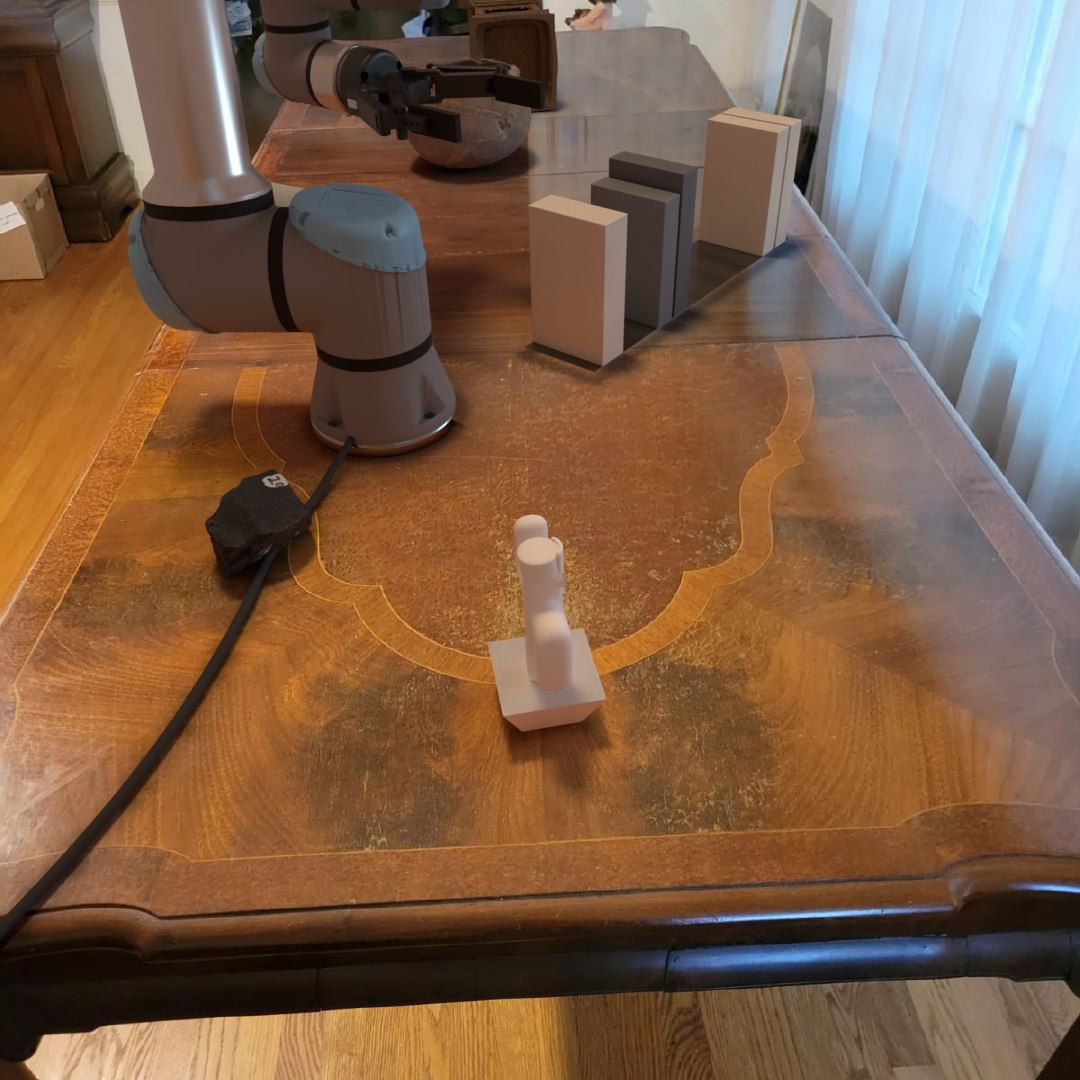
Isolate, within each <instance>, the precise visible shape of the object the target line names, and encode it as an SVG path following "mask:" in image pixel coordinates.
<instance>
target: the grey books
mask: <svg viewBox="0 0 1080 1080" xmlns="http://www.w3.org/2000/svg"><path fill="white" fill-rule="evenodd" d="M698 172H699V167H698V166H696V165H690V164H686V163H681V162H677V161H674V160H673V161H672V160H667V159H663V158H658V157H654V156H649V155H644V154H640V153H636V152H631V151H627V150H622V151H620V152H618V153H616V154H614V155H612V156H610V157H608V176H605V177H603V178H601V179H599V180H597V181H595V182H592V183H591V184H590V204H591V205H595V206H599V207H603V208H607V209H611V210H615V211H619V212H623V213H626V214H628V215H627V245H626V275H625V305H624V318H627V319H631V320H634V321H637V322H640V323H643V324H646V325H649V326H652V327H656V328H659V327H660V328H661V326H662V325H663V326H665V325H666V324H667V323H669V322H670V321H672V320H673V319H672V317H675V316H676V317H678V316H679V315H681V314H682V313H684V312H685V311H687V310H688V309H687V304H688V291H689V278H690V265H691V252H692V244H693V236H694V226H695V225H694V224H695V212H696V201H697V200H696V198H697V188H698V187H697V186H698V185H697V184H698V174H699V173H698ZM684 310H685V311H684ZM681 312H682V313H681ZM680 313H681V314H680ZM678 314H679V315H678ZM677 315H678V316H677ZM676 317H675V318H676ZM671 319H672V320H671ZM669 320H670V321H669ZM668 321H669V322H668ZM665 323H666V324H665ZM663 326H662V327H663ZM660 328H659V329H660Z"/></svg>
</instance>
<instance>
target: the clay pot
mask: <svg viewBox="0 0 1080 1080" xmlns="http://www.w3.org/2000/svg"><path fill="white" fill-rule="evenodd" d="M437 64H441V65H456V66H490V67H497V64H501V65H502V66H505V67H507V68H508V75H511V76H516V77H520V76H519V74H520V70H519V69H518V68H517V67H516V66H515V65H512V66H511V65H509V64H506V63H503V62H500V61H495V60H491V59H481V60H480V61H478V62H477V61H475V60H474V59H470V58H463V59H457V60H449V61H443V62H438V63H437ZM422 69H426V66H425V67H422ZM430 89H431V88H430ZM435 95H436V94H435V90H433V89H431V96H435ZM420 105H424V106H428V107H433V108H437V109H442V110H446V111H451V112H455V113H460V122H461V136H462V142H459V143H453V142H449V141H445V140H441V139H436V138H432V137H428V136H424V135H420V134H416V133H412V132H410V130H408V139H407V140H408V141H409V144H410V145H411V146H412V148H413V149H414V150H415V152H416V153H417V154H418V155H419V156H420V157H421V158H422V159H424V160H425V161H427V162H429V163H431V164H432V165H435V166H440V167H443V168H448V169H473V168H481V167H486V166H489V165H492V164H495V163H497V162H499V161H501V160H503V159H504V158H506V157H508V156H510V155H511V154H513V153H514V152H515V151H516V150H517V149H518V148H519V147H521V145H522V144H523V142H524V141H525V140H526V137H527V136H528V134H529V132H530V128H531V121H532V112H531V108H529V107H524V106H519V105H515V104H510V103H505V102H500V101H495V97H480V98H451V99H443V101H442V102H441V103H439V104H420ZM405 110H406V111H408V107H405Z"/></svg>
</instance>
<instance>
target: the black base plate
mask: <svg viewBox="0 0 1080 1080" xmlns="http://www.w3.org/2000/svg"><path fill="white" fill-rule="evenodd" d="M788 240H790V238H789V237H786V239H785V242H787V241H788ZM785 242H783V243H782V244H784V243H785ZM782 244H780V245H779V246H781V245H782ZM779 246H777V247H776V248H773V250H771V251H770V252H768V253H767V254H766V255H768V254H769V253H771V252H773V251H774V250H775V249H777V248H778V247H779ZM766 255H764V256H758V255H755V254H751V253H747V252H743V251H739V250H735V249H732V248H728V247H724V246H720V245H716V244H712V243H708V242H705V241H701V240H696V241H694V242H692V252H691V265H690V278H689V291H688V304H687V309H686V310H688V309H690V308H692V306H694V305H695V304H697V303H699V302H700V301H701V300H702V299H704V298H705V297H707V296H708V295H710V294H711V293H713V292H714V291H716V290H718V289H719V288H720V287H721V286H723V285H724V284H726V283H727V282H729V281H730V280H731V279H733V278H734V277H736V276H737V275H739V274H740V273H742V272H743V271H745V270H746V269H748V268H750V266H752V265H753V264H755V263H756V262H758V261H759V260H761V259H762V258H764V257H765V256H766ZM686 310H684V311H683V312H685V311H686ZM683 312H681V313H680V314H678V315H677V316H675V317H672V319H671V320H669V321H668V322H667V323H669V322H670V321H672V320H673V319H675V318H677V317H678V316H679V315H681V314H682V313H683ZM667 323H665V324H664V325H667ZM664 325H662V326H661V327H663V326H664ZM661 327H659V328H656V327H652V326H649V325H646V324H643V323H640V322H637V321H634V320H631V319H627V318H624V335H623V353H621V354H620V355H618V356H617V357H616V358H618V357H619V356H621V355H622V354H625V352H627V351H628V350H630V349H631V348H632V347H634V346H635V345H637V344H638V343H640V342H642V341H643V340H644V339H646V338H647V337H649V336H650V335H651V334H653V333H655V332H656V331H657V330H659V329H660V328H661ZM524 348H525V349H529V350H532V351H535V352H536V353H539V354H543V355H545V356H548V357H551V358H554V359H556V360H559V361H562V362H565V363H567V364H570V365H573V366H575V367H579V368H582V369H584V370H587V371H590V372H593V373H596V372H597V371H600V370H601V369H602V368H603V367H605V366H606V365H608V364H609V363H611V362H612V361H614V360H616V358H614V359H613V360H611V361H610V362H608V363H607V364H605V365H604V366H600V365H597V364H595V363H592V362H589V361H586V360H583V359H580V358H578V357H575V356H572V355H569V354H566V353H563V352H561V351H558V350H555V349H552V348H549V347H546V346H544V345H541V344H538V343H535V342H533V341H532V342H530V343H529V344H527V345H525V346H524Z"/></svg>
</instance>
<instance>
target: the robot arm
mask: <svg viewBox="0 0 1080 1080" xmlns="http://www.w3.org/2000/svg"><path fill="white" fill-rule="evenodd" d="M450 2H451V0H259V3H260V8H261V9H260V10H261V13H262V18H263V25H264V29H263V30H264V32H263V33H261V34H260V36H259V37H258V38H257V40H256V41H255V43H254V47H253V48H254V50H253V56H252V57H251V61H252V69H253V73H254V75H255V78H256V80H257V81H258V83H259V84H260V85H261V87H262V88H263V89H264V90H265V91H266V92H268V93H270V94H271V95H274V96H276V97H280V98H283V99H284V100H286V101H289V102H291V103H297V104H305V105H310V106H314V107H319V108H324V109H327V110H332V111H336V112H340V113H343V114H344V116H345V117H346V118H351V117H352V116H353V117H357V118H360V120H361V121H363V122H364V123H365V124H366V125H368V126H369V127H370V128H371V129H372V130H373V131H374V132H375V133H377V134H378V135H379V136H381V137H388V136H390V135H391V134H392V131H391V130H395V135H396V140H398V141H407V140H409V139H408V130H410V132H412V133H416V134H420V135H424V136H428V137H432V138H436V139H441V140H445V141H449V142H453V143H459V142H462V136H461V122H460V113H455V112H451V111H446V110H442V109H437V108H433V107H428V106H424V105H420V104H439V103H441V102H442V101H443V99H451V98H480V97H495V101H500V102H505V103H510V104H515V105H519V106H524V107H529V108H534V109H538V110H542V109H544V108H545V89H544V82H542V81H537V80H532V79H527V78H521V77H516V76H511V75H508V68H507V67H505V66H502V65H501V64H497V67H490V66H456V65H441V64H438V63H434V62H429V63H426V64H425V67H426V69H423V68H418V67H416V66H404V65H403V64H402V62H401V61H400V59H399V57H398V56H397V55H396V54H395V53H394V52H392V51H391V50H389V49H386V48H380V47H375V46H371V45H364V44H362V43H357V42H351V41H345V40H340V39H334V38H332V33H331V26H330V25H331V21H330V20H331V19H330V12H342V11H344V12H345V11H346V12H348V11H349V12H350V11H415V12H421V11H422V10H423V11H424V10H436V9H444V8H445V7H447V6H448V5H449V4H450ZM117 4H118V9H119V13H120V19H121V22H122V27H123V32H124V37H125V42H126V46H127V51H128V55H129V60H130V64H131V70H132V74H133V75H132V76H133V78H134V79H133V80H134V82H135V89H136V93H137V97H138V98H137V99H138V102H139V106H140V112H141V116H142V121H143V126H144V130H145V134H146V140H147V144H148V149H149V154H150V158H151V164H152V169H153V174H152V177H150V180H148V182H147V184H146V185H145V186H144V188H143V189H142V191H141V192H140V195H141V198H142V199H141V200H142V204H143V207H141V208H139V209H138V210H136V212H134V213H133V215H132V217H131V219H130V221H129V223H128V230H127V238H128V240H129V243H130V244H129V245H127V255H128V260H129V266H130V270H131V273H132V277H133V279H134V282H135V285H136V287H137V290H138V292H139V294H140V296H141V298H142V300H143V301H144V303H145V304H146V306H147V308H148V309H149V310H150V311H151V313H152V314H153V315H154V316H155V317H156V318H157V319H159V321H161V322H163V324H165V325H166V326H167V327H169V328H171V329H173V330H178V331H184V332H198V333H199V332H200V333H201V332H202V333H205V334H208V335H220V334H222V333H307V334H308V333H310V334H312V336H313V337H312V338H313V340H314V345H315V350H316V354H317V355H316V356H317V362H316V367H315V374H314V378H313V379H314V380H313V386H312V391H311V397H310V404H309V412H310V413H309V415H310V421H311V426H312V430H313V433H314V435H315V437H316V438H317V439H318V440H319V441H320V442H321V443H322V444H324V445H325V446H327V447H329V448H331V449H333V450H335V451H337V454H336V456H335V457H334V458H333V460H332V461H331V464H330V465H329V467H328V468H327V470H326V471H325V473H324V475H323V476H322V479H321V480H320V482H319V483H318V485H317V487H316V489H315V490H314V491H313V493H312V495H311V496H310V497H309V498H308V500H307V501H306V502H305V503H304V504H305V506H306V507H307V509H308V511H309V512H310V513H311V512H312V510H313V509H314V508H315V507H316V505H317V504H318V502H319V501H320V500H321V499H322V497H323V496H324V494H325V492H326V490H327V488H328V487H329V485H330V483H331V482H332V480H333V478H334V477H335V475H336V473H337V472H338V470H339V468H340V467H341V465H342V464H343V463H344V461H345V459H346V458H347V456H348V455H352V456H353V455H354V456H360V457H387V456H396V455H400V454H405V453H409V452H413V451H415V450H419V449H421V448H424V447H426V446H428V445H430V444H432V443H435V442H436V441H437V440H439V439H440V438H442V437H443V436H445V434H447V433H448V432H449V431H450V430H451V428H452V427H453V425H454V424H455V423H456V420H455V419H453V417H454V415H455V413H456V411H457V406H458V405H457V404H458V403H457V402H458V401H457V396H456V392H455V389H454V386H453V384H452V382H451V380H450V377H449V375H448V374H447V371H446V369H445V367H444V365H443V363H442V361H441V358H440V356H439V354H438V352H437V350H436V348H435V346H434V339H433V338H434V337H433V329H432V319H431V310H430V309H431V308H430V299H429V289H428V279H427V277H428V276H427V268H426V267H427V266H426V261H427V251H426V248H425V246H424V242H423V237H422V235H423V234H422V229H421V223H420V219H419V216H418V214H417V212H416V211H415V209H414V207H413V206H412V205H411V204H410V203H409V202H408V201H407V200H405V199H404V198H402V197H401V196H399V195H397V194H396V193H394V192H392V191H390V190H386V189H384V188H380V187H378V186H372V185H367V184H362V183H361V184H360V183H352V182H330V183H327V184H326V185H319V184H316V185H312V186H309V187H306V188H305V189H303V190H301V191H299V192H298V193H296V194H295V195H294V196H293V198H292V200H291V203H290V206H289V207H279V206H276V205H275V201H274V195H273V188H272V184H271V182H272V181H271V180H270V179H268V178H267V176H265V175H264V174H263V173H261V172H260V171H259V170H257V169H256V168H255V166H254V165H253V163H252V158H251V152H250V151H251V150H250V146H249V145H250V144H249V140H248V133H247V128H246V127H247V126H246V120H245V114H244V108H243V101H242V97H241V90H240V84H239V83H240V82H239V78H238V73H237V66H236V60H235V54H234V47H233V43H232V42H233V41H232V36H231V29H230V23H229V16H228V11H227V4H226V0H117ZM430 88H431V89H433V90H435V94H436V95H435V96H431V89H430ZM405 107H408V111H406V110H405ZM542 111H543V110H542ZM279 551H280V550H279V549H276V550H274V551H272V552H269V553H267V554H266V555H265V556H264V557H263V559H262V560H260V563H259V565H258V567H257V569H256V571H255V573H254V576H253V578H252V580H251V582H250V585H249V587H248V589H247V592H246V594H245V595H244V597H243V600H242V601H241V604H240V605H239V607H238V609H237V610H236V613H235V614H234V617H233V619H232V620H231V622H230V624H229V626H228V628H227V629H226V631H225V632H224V633H225V634H224V635H223V637H222V638H221V641H220V642H219V643H218V646H217V647H216V649H215V651H214V652H213V655H212V656H211V658H210V659H209V660H208V663H207V664H206V666H205V667H204V669H203V670H202V672H201V674H200V675H199V677H198V679H197V680H196V682H194V685H193V686H192V688H191V690H190V691H189V693H188V694H187V696H186V697H185V699H184V700H183V701H182V704H181V705H180V706H179V708H178V710H177V711H176V712H175V714H174V715H173V716H172V718H171V720H170V721H169V722H168V724H167V725H166V726H165V728H164V729H163V731H162V732H161V733H160V735H159V736H158V737H157V739H156V740H155V742H154V743H153V745H152V746H151V747H150V748H149V750H148V751H147V753H146V754H145V755H144V756H143V758H142V759H141V760H140V762H139V763H138V764H137V766H136V767H135V768H134V770H133V771H132V772H131V773H130V775H128V777H127V778H126V780H125V781H124V782H123V783H122V785H121V786H120V787H119V789H118V790H117V791H116V792H115V794H114V795H113V796H112V797H111V798H110V800H108V802H107V803H106V804H105V805H104V806H103V808H102V809H101V810H100V811H99V812H98V813H97V815H96V816H95V817H94V818H93V819H92V821H91V822H90V823H89V824H88V825H87V826H86V827H85V829H83V831H82V832H80V834H79V835H78V837H76V839H74V841H73V842H72V844H71V845H70V846H69V847H68V848H66V850H65V851H64V852H63V854H62V855H61V856H60V857H59V858H58V859H57V860H56V862H54V863H53V865H51V866H50V868H49V869H48V870H47V871H46V872H45V873H44V874H43V876H42V877H41V878H40V879H39V880H38V881H37V882H36V883H35V884H34V885H33V886H32V887H31V888H30V889H29V890H28V892H27V893H26V894H25V895H24V896H23V897H22V898H21V899H20V900H19V901H18V902H17V903H16V904H15V905H14V906H13V907H12V908H11V909H10V910H9V911H8V912H7V913H6V914H5V915H4V916H3V917H2V918H1V919H0V941H1V940H3V938H5V936H6V935H7V934H8V933H9V932H10V931H11V930H13V928H14V927H15V926H16V925H17V924H18V923H19V921H21V919H23V918H24V916H26V914H28V912H29V911H30V910H32V908H33V907H34V906H35V905H36V904H37V902H38V901H39V900H40V899H41V898H42V897H43V896H44V895H45V894H46V893H47V892H48V891H49V890H50V888H51V887H52V886H53V885H54V884H55V883H56V882H57V881H58V880H59V879H60V878H61V876H62V875H63V874H64V873H65V872H66V871H67V869H68V868H69V867H70V866H71V865H72V864H73V863H74V862H75V860H76V859H78V857H79V856H80V855H81V854H82V853H83V852H84V850H85V849H86V848H87V847H88V846H89V844H90V843H91V842H92V841H93V840H94V839H95V837H96V836H97V835H98V834H99V833H100V832H101V831H102V829H103V828H104V827H105V826H106V825H107V823H108V822H109V821H110V820H111V819H112V817H113V816H114V815H115V814H116V813H117V812H118V810H119V809H120V807H122V806H123V803H125V802H126V800H128V798H129V796H131V794H132V793H133V792H134V790H135V789H136V788H137V786H138V785H139V784H140V783H141V781H142V780H143V779H144V777H145V776H146V775H147V773H149V770H151V768H152V766H153V765H154V764H155V763H156V761H157V760H158V758H159V757H160V756H161V755H162V753H163V752H164V751H165V749H166V748H167V746H168V745H169V744H170V742H172V739H173V738H174V737H175V735H176V734H177V733H178V731H179V729H180V728H181V727H182V725H183V723H184V722H185V721H186V719H187V718H188V716H189V715H190V713H191V712H192V710H193V709H194V707H195V705H196V704H197V702H198V701H199V700H200V698H201V696H202V695H203V693H204V691H205V690H206V688H207V686H208V685H209V684H210V682H211V681H212V678H213V677H214V675H215V674H216V672H217V671H218V669H219V667H220V665H221V663H222V662H223V660H224V658H225V657H226V655H227V653H228V652H229V649H230V648H231V645H232V644H233V642H234V640H235V639H236V637H237V635H238V633H239V631H240V629H241V627H242V625H243V623H244V622H245V620H246V618H247V616H248V614H249V613H250V610H251V608H252V606H253V604H254V602H255V600H256V598H257V595H258V594H259V591H260V589H261V587H262V585H263V582H264V579H265V578H266V576H267V573H268V570H269V568H270V567H271V565H272V562H273V561H274V559H275V557H276V555H277V554H278V553H279Z"/></svg>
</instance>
